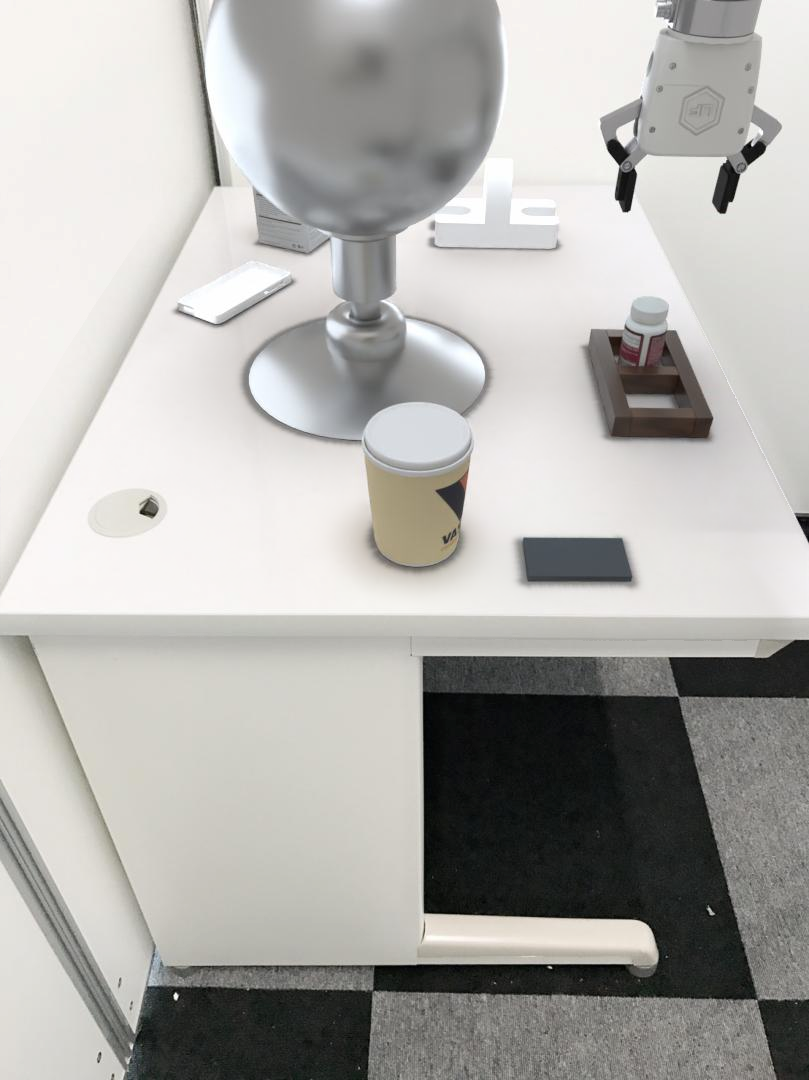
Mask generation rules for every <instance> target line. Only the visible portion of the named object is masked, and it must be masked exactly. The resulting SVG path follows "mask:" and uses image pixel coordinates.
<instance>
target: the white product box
mask: <svg viewBox="0 0 809 1080" xmlns="http://www.w3.org/2000/svg"><path fill="white" fill-rule="evenodd" d="M251 188H252V194H253V195H252V196H253V203H254V210H255V219H256V227H257V233H258V243H260V244H265V245H269V246H272V247H278V248H282V249H286V250H292V251H297V252H301V253H306V254H310V253H311V252H313V251H314V250H315V249H316V248H318V247H319V246H321V245H322V244H324V243H325V242H326V241H327V240H329V239H330V236H328V235H326V234H324V233H322V232H320V231H319V230H318V229H316V228H314V227H312V226H309V225H307V224H304V223H302V222H300V221H298V220H296V219H294V218H292V217H291V216H289V215H287V214H286V213H284V212H283V211H281V210H280V209H278V208H277V207H276V206H274V205H273V204H272V203H270V202H269V201H268V200H267V199H266V198H265V197H263V196H262V195H261V194H260V193H259V192H258V191H257V190H256V189H255V188H254V187H253V185H252V184H251Z"/></svg>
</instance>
